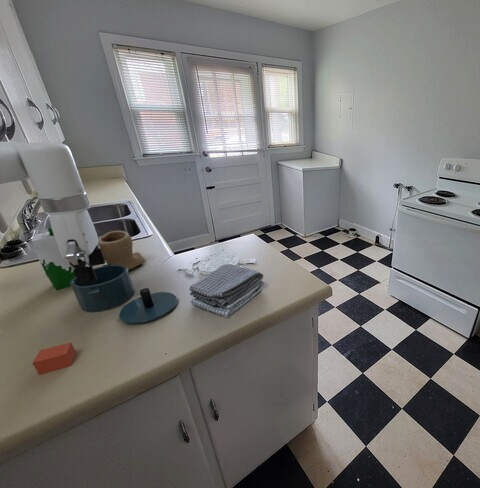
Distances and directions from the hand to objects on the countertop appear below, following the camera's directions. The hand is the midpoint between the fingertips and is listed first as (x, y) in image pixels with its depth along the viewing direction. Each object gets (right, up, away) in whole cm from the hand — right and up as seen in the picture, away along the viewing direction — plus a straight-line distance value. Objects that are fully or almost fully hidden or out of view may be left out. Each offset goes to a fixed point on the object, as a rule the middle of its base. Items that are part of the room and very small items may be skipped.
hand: (93, 272), depth 65 cm
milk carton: (-33, -7, +29) cm, 44 cm away
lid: (+4, -12, +15) cm, 19 cm away
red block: (-5, -20, -3) cm, 21 cm away
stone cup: (-20, -3, +38) cm, 43 cm away
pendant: (+14, -1, +41) cm, 43 cm away
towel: (+25, -10, +21) cm, 34 cm away
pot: (-12, -10, +20) cm, 26 cm away
